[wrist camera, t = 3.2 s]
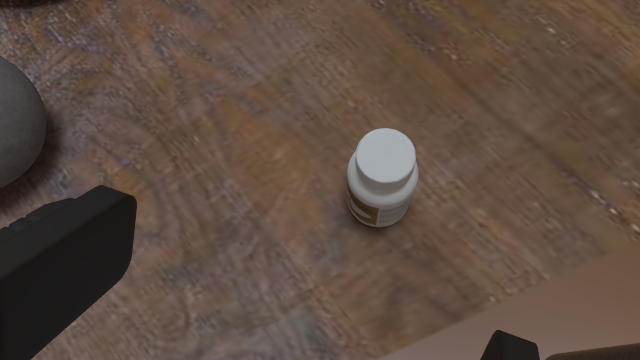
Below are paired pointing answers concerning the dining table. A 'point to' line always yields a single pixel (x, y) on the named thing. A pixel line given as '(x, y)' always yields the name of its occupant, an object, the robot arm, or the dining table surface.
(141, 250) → the dining table surface
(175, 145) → the dining table surface
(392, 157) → the pill bottle
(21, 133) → the decorative ball
